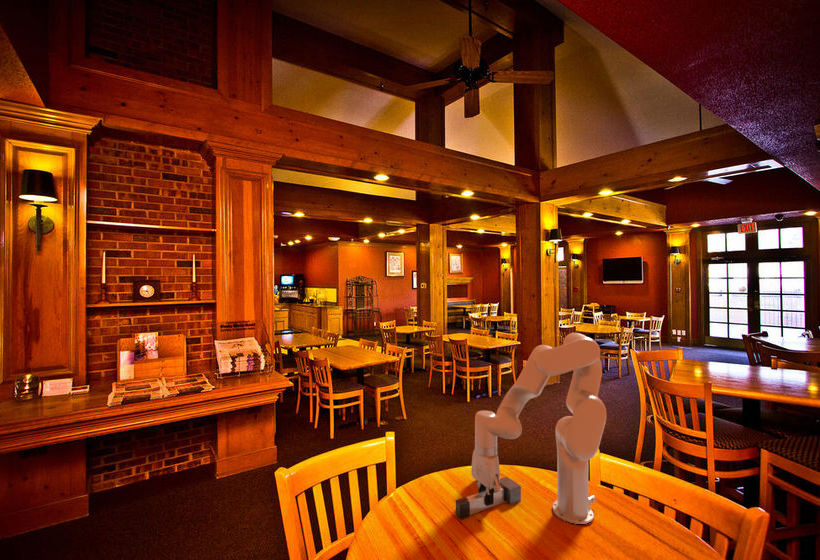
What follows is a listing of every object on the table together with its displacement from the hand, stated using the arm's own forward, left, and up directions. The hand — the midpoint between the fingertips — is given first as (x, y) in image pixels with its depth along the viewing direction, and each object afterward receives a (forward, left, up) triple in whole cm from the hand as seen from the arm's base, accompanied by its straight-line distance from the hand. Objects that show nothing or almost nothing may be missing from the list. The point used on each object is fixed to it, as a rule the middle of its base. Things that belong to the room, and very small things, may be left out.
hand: (485, 501), depth 128 cm
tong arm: (+3, +1, -2) cm, 3 cm away
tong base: (-1, 0, -2) cm, 2 cm away
